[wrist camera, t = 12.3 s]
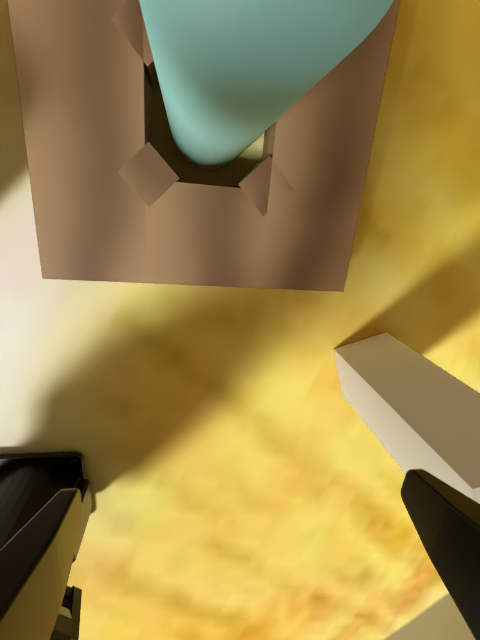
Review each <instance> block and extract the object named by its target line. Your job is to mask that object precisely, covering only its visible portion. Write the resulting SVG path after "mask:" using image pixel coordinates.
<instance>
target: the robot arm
mask: <svg viewBox="0 0 480 640" xmlns="http://www.w3.org/2000/svg"><path fill="white" fill-rule="evenodd" d="M73 459H76V460H77V461H75V460H73ZM401 497H402V500H403V502H404V505H405V507H406V509H407V511H408V513H409V515H410V517H411V520H412V522H413V524H414V526H415V528H416V530H417V533H418V535H419V537H420V539H421V541H422V543H423V546H424V548H425V550H426V552H427V554H428V556H429V558H430V559H431V561H432V563H433V565H434V567H435V569H436V570H437V572H438V574H439V576H440V577H441V579H442V581H443V583H444V585H445V586H446V588H447V590H448V592H449V593H450V595H451V597H452V599H453V600H454V602H455V604H456V606H457V607H458V609H459V611H460V613H461V614H462V616H463V618H464V620H465V622H466V623H467V625H468V627H469V629H470V630H471V632H472V634H473V636H474V638H475V639H476V640H480V504H479V503H477V502H476V501H474V500H473V499H471V498H469V497H468V496H466V495H464V494H463V493H461V492H460V491H458V490H456V489H455V488H453V487H451V486H450V485H448V484H447V483H445V482H443V481H442V480H440V479H438V478H437V477H435V476H434V475H432V474H430V473H429V472H427V471H425V470H423V469H410V470H408V471H407V473H406V476H405V479H404V482H403V485H402V488H401ZM91 509H92V497H91V487H90V481H89V480H88V479H86V476H85V467H84V457H83V455H82V454H81V453H79V452H62V453H37V454H12V455H0V640H78V638H79V623H80V609H81V594H82V589H79V588H77V587H75V586H73V587H69V586H67V582H68V578H69V574H70V569H71V565H72V563H73V562H74V561H75V560H76V557H77V554H78V551H79V548H80V544H81V541H82V538H83V535H84V532H85V528H86V525H87V522H88V519H89V516H90V513H91Z"/></svg>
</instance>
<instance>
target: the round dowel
mask: <svg viewBox="0 0 480 640" xmlns="http://www.w3.org/2000/svg"><path fill="white" fill-rule="evenodd" d="M393 1H394V0H139V2H140V6H141V10H142V14H143V18H144V22H145V27H146V31H147V35H148V39H149V43H150V47H151V51H152V55H153V59H154V64H155V68H156V72H157V76H158V80H159V84H160V88H161V92H162V96H163V101H164V105H165V109H166V113H167V117H168V121H169V125H170V129H171V133H172V137H173V140H174V143H175V145H176V147H177V148H178V150H179V151H180V153H181V154H182V155H183V156H184V157H185V158H186V159H187V160H188V161H189V162H191V163H192V164H194V165H196V166H199V167H202V168H207V169H215V168H220V167H223V166H225V165H227V164H229V163H230V162H231V161H233V160H234V159H235V158H236V157H237V156H238V155H239V154H240V153H241V152H242V151H244V150H245V149H246V148H247V147H248V146H249V145H250V144H251V143H252V142H253V141H254V140H256V139H257V138H258V137H259V136H260V135H261V134H262V133H263V132H264V131H265V130H266V129H268V128H269V127H270V126H271V125H272V124H273V123H274V122H275V121H276V120H277V119H279V118H280V117H281V116H282V115H283V114H284V113H285V112H286V111H287V110H288V109H289V108H291V107H292V106H293V105H294V104H295V103H296V102H297V101H298V100H299V99H300V98H301V97H303V96H304V95H305V94H306V93H307V92H308V91H309V90H310V89H311V88H312V87H313V86H315V85H316V84H317V83H318V82H319V81H320V80H321V79H322V78H323V77H324V76H325V75H327V74H328V73H329V72H330V71H331V70H332V69H333V68H334V67H335V66H336V65H337V64H339V63H340V62H341V61H342V60H343V59H344V58H345V57H346V56H347V55H348V54H349V53H351V52H352V51H353V50H354V49H355V48H356V47H357V46H358V45H359V44H360V43H361V42H362V41H363V40H364V39H365V38H366V37H367V36H368V35H369V34H370V33H371V32H372V31H373V30H374V29H375V27H376V26H377V24H378V23H379V22H380V20H381V19H382V18H383V16H384V15H385V14H386V12H387V11H388V9H389V7H390V6H391V4H392V2H393Z"/></svg>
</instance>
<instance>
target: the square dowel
mask: <svg viewBox="0 0 480 640" xmlns="http://www.w3.org/2000/svg"><path fill="white" fill-rule="evenodd" d="M334 354H335V360H336V365H337V371H338V376H339V382H340V388H341V393H342V395H343V397H344V398H345V399H346V400H347V402H348V403H349V404H350V405H351V407H352V408H353V409H354V410H355V412H356V413H357V414H358V415H359V417H360V418H361V419H362V420H363V422H364V423H365V424H366V425H367V427H368V428H369V429H370V430H371V432H372V433H373V434H374V435H375V437H376V438H377V439H378V440H379V442H380V443H381V444H382V446H383V447H384V448H385V449H386V451H387V452H388V453H389V454H390V456H391V457H392V458H393V459H394V461H395V462H396V463H397V464H398V466H399V467H400V468H401V469H402V471H403V472H404V473H405V474H406V473H407V471H408V470H410V469H423V470H425V471H427V472H429V473H430V474H432V475H434V476H435V477H437V478H438V479H440V480H442V481H443V482H445V483H447V484H448V485H450V486H451V487H453V488H455V489H456V490H458V491H460V492H461V493H463V494H464V495H466V496H468V497H469V498H471V499H473V500H474V501H476V502H477V503H479V504H480V393H478V392H477V391H475V390H474V389H472V388H471V387H469V386H468V385H466V384H465V383H463V382H462V381H460V380H459V379H457V378H456V377H454V376H452V375H451V374H449V373H448V372H446V371H445V370H443V369H442V368H440V367H439V366H437V365H436V364H434V363H433V362H431V361H430V360H428V359H427V358H425V357H424V356H422V355H421V354H419V353H417V352H416V351H414V350H413V349H411V348H410V347H408V346H407V345H405V344H404V343H402V342H401V341H399V340H398V339H396V338H395V337H393V336H392V335H390V334H389V333H387V332H385V333H382V334H378V335H375V336H372V337H369V338H366V339H363V340H360V341H357V342H353V343H350V344H347V345H344V346H341V347H338V348H335V349H334Z"/></svg>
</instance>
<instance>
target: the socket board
mask: <svg viewBox="0 0 480 640" xmlns="http://www.w3.org/2000/svg"><path fill="white" fill-rule="evenodd" d="M7 1H8V9H9V17H10V25H11V33H12V41H13V49H14V56H15V64H16V72H17V80H18V88H19V96H20V104H21V112H22V120H23V128H24V136H25V144H26V152H27V160H28V168H29V176H30V184H31V192H32V200H33V207H34V215H35V223H36V231H37V239H38V247H39V255H40V263H41V271H42V279H63V280H87V281H110V282H133V283H156V284H179V285H202V286H225V287H248V288H271V289H294V290H317V291H340V292H343V291H344V286H345V281H346V276H347V271H348V266H349V260H350V255H351V250H352V245H353V240H354V235H355V230H356V224H357V219H358V214H359V209H360V204H361V199H362V194H363V188H364V183H365V178H366V173H367V168H368V163H369V158H370V152H371V147H372V142H373V137H374V132H375V127H376V122H377V116H378V111H379V106H380V101H381V96H382V91H383V85H384V80H385V75H386V70H387V65H388V60H389V55H390V49H391V44H392V39H393V34H394V29H395V24H396V19H397V13H398V8H399V3H400V0H394V1H393V2H392V4H391V6H390V7H389V9H388V11H387V12H386V14H385V15H384V16H383V18H382V19H381V20H380V22H379V23H378V24H377V26H376V27H375V29H374V30H373V31H372V32H371V33H370V34H369V35H368V36H367V37H366V38H365V39H364V40H363V41H362V42H361V43H360V44H359V45H358V46H357V47H356V48H355V49H354V50H353V51H352V52H351V53H349V54H348V55H347V56H346V57H345V58H344V59H343V60H342V61H341V62H340V63H339V64H337V65H336V66H335V67H334V68H333V69H332V70H331V71H330V72H329V73H328V74H327V75H325V76H324V77H323V78H322V79H321V80H320V81H319V82H318V83H317V84H316V85H315V86H313V87H312V88H311V89H310V90H309V91H308V92H307V93H306V94H305V95H304V96H303V97H301V98H300V99H299V100H298V101H297V102H296V103H295V104H294V105H293V106H292V107H291V108H289V109H288V110H287V111H286V112H285V113H284V114H283V115H282V116H281V117H280V118H279V119H277V120H276V121H275V122H274V123H273V124H272V125H271V126H270V127H269V128H268V129H266V130H265V134H264V145H263V156H262V160H261V161H259V162H258V163H257V164H256V165H254V166H253V167H252V168H251V169H250V170H249V171H248V172H247V173H246V174H245V175H244V176H243V177H242V178H240V179H239V180H238V181H237V182H236V183H235V184H234V185H233V186H232V187H224V186H213V185H203V184H192V183H182V182H181V181H180V178H179V177H178V176H177V175H176V174H175V172H174V171H173V170H172V169H171V168H170V166H169V165H168V164H167V163H166V162H165V160H164V159H163V158H162V157H161V156H160V154H159V153H158V152H157V151H156V150H155V149H154V147H153V146H152V145H151V135H150V82H151V84H152V85H153V86H154V85H155V84H156V83H157V82H158V81H159V80H158V76H157V72H156V68H155V64H154V59H153V55H152V51H151V47H150V43H149V39H148V35H147V31H146V27H145V22H144V18H143V14H142V10H141V6H140V2H139V0H7Z"/></svg>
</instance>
